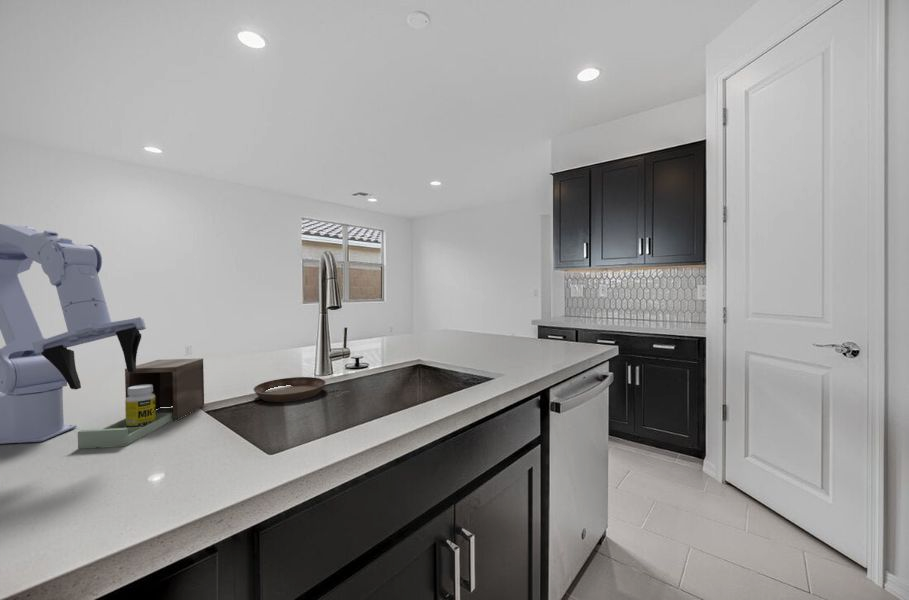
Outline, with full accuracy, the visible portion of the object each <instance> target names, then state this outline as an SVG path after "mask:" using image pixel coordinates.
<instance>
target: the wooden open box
mask: <svg viewBox="0 0 909 600" xmlns="http://www.w3.org/2000/svg"><path fill="white" fill-rule="evenodd" d="M204 376H205V375H204V358H202V357H201V358H176V359H175V358H173V359H172V358H171V359H156V360H152V361H149V362H145V363H141V364H138V365H137V364H136V372H134V373H130V372H128V370H127V367H126V368H124V386H125V389H124V390H125V399H126V398H127V397H129V395H128V388H129V387H132V386H137V385H145V384H151V385H153V392H152V394H154V395H155V406H156V409H158V408H160V407H171V406H173V408H172V409H173V410H172V411H173V421H174V420H178V419H180V418H181V417H183V416H185V415H187V414H189V413H190V412H192V411H194V410H196V409H197V410H199V409H202V407H204V406H205V380H204V379H205V377H204ZM203 405H204V406H203ZM197 410H196V411H197ZM194 412H195V411H194ZM192 413H193V412H192ZM190 414H191V413H190ZM190 414H189V415H190ZM187 416H188V415H187ZM185 417H186V416H185ZM183 418H184V417H183ZM181 419H182V418H181ZM181 419H180V420H181ZM178 421H179V420H178Z"/></svg>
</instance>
